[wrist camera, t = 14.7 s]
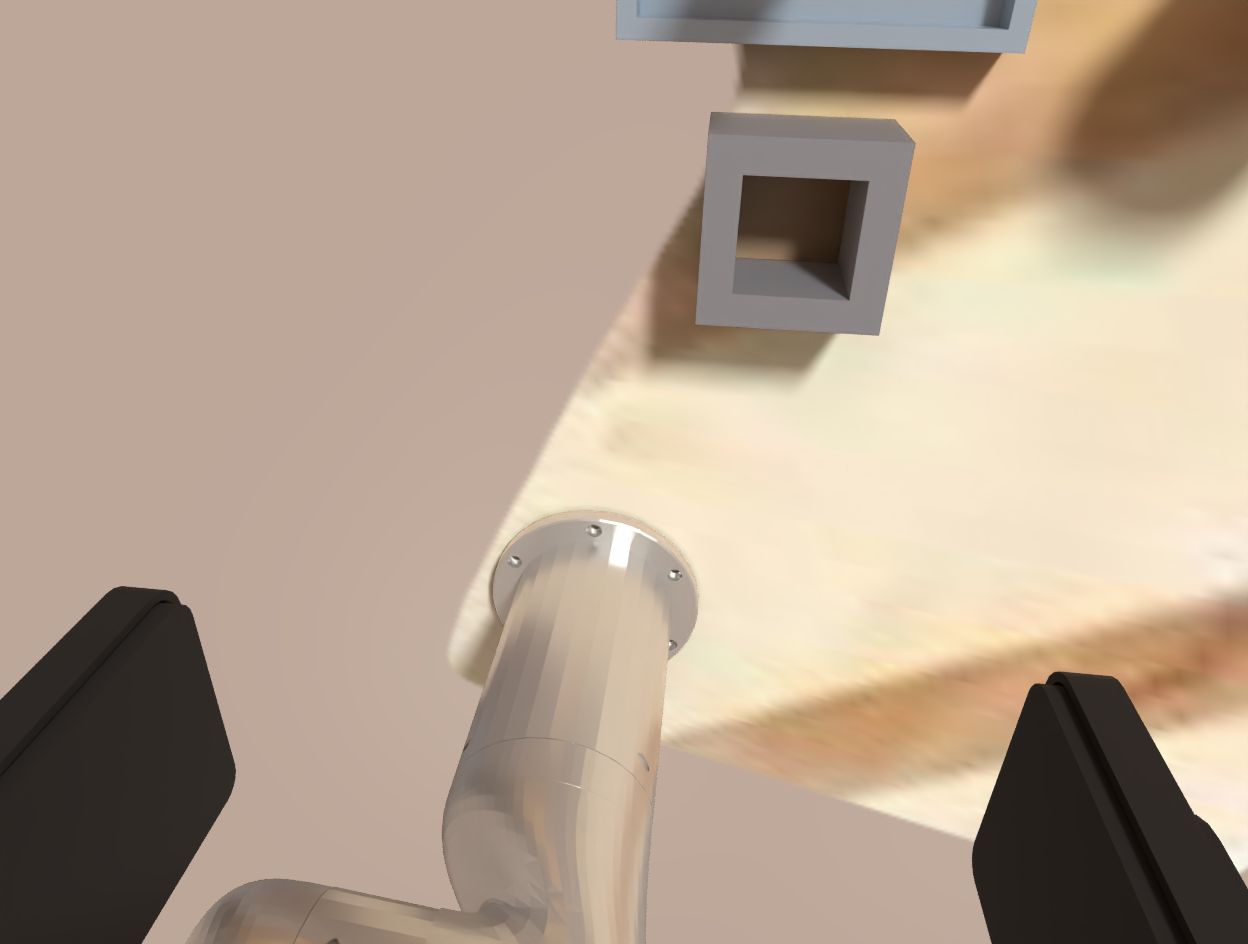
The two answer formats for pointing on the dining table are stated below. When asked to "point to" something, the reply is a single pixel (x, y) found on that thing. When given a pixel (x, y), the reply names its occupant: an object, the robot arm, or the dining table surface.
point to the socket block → (799, 288)
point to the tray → (834, 23)
